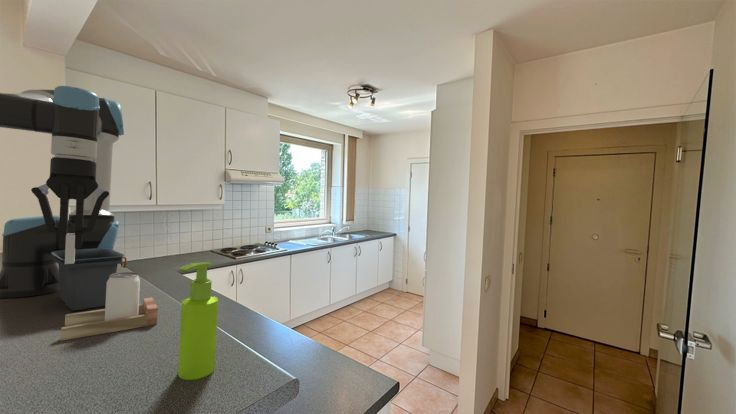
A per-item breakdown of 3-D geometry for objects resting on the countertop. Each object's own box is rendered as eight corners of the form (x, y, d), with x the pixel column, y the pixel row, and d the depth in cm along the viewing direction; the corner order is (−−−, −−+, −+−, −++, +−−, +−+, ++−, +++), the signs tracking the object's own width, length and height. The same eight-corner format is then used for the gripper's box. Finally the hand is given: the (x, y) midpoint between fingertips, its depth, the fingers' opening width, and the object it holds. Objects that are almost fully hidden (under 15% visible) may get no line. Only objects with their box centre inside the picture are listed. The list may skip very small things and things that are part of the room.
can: (119, 330, 73) (122, 278, 73) (97, 326, 74) (99, 276, 74) (144, 320, 79) (146, 273, 79) (123, 317, 80) (125, 270, 80)
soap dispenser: (164, 377, 55) (170, 264, 55) (199, 360, 61) (204, 258, 61) (188, 386, 52) (194, 268, 52) (221, 367, 59) (227, 262, 59)
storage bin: (45, 298, 91) (48, 249, 91) (112, 289, 103) (114, 246, 103) (60, 317, 78) (63, 260, 78) (134, 304, 90) (136, 254, 90)
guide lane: (65, 324, 74) (66, 308, 74) (151, 311, 85) (152, 297, 85) (60, 340, 66) (61, 322, 66) (156, 324, 77) (157, 308, 77)
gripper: (29, 152, 63) (24, 268, 63) (112, 161, 71) (107, 263, 72) (35, 155, 69) (30, 261, 69) (111, 163, 77) (107, 257, 78)
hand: (69, 262), depth 70 cm, fingers closed
